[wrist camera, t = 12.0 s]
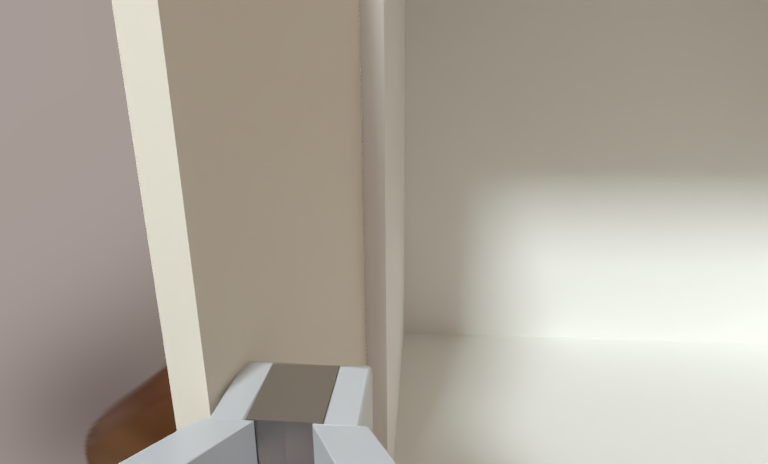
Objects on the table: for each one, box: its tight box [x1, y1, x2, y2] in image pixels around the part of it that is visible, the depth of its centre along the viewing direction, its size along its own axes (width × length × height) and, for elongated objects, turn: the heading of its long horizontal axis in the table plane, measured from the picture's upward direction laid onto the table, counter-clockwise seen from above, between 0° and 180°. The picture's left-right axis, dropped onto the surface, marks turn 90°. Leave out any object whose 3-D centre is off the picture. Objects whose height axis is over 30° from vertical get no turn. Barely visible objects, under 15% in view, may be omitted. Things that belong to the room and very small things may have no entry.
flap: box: [112, 0, 367, 431], centre depth 12 cm, size 20×8×1 cm
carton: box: [359, 0, 768, 464], centre depth 21 cm, size 20×22×14 cm
